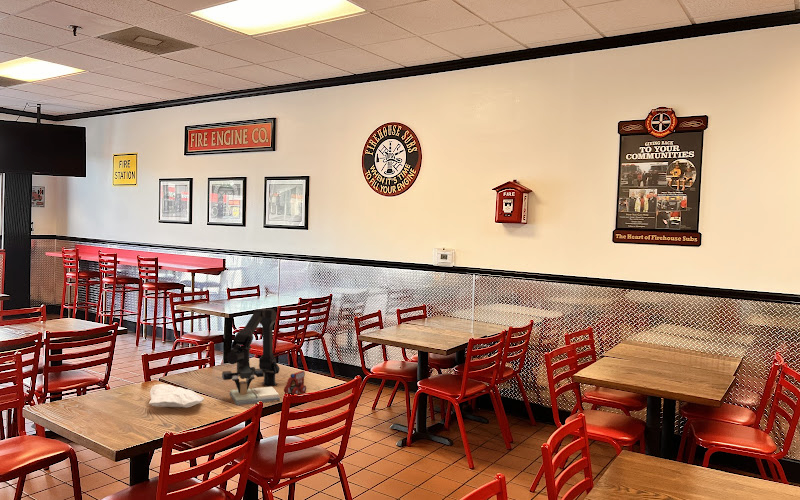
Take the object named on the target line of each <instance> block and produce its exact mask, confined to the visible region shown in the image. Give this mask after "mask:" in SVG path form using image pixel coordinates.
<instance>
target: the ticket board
mask: <svg viewBox="0 0 800 500" xmlns="http://www.w3.org/2000/svg"><path fill="white" fill-rule="evenodd" d="M251 391H252V392H253V393H254V395H255V396H256V399H248V400H238V401H236V400H235V398H234V397H233V395H232V394H231V391H229V396H230V397H231V398H232V401H233V402H234V403H235V405H236V406H243V405H252V404H258V403H257V402H259V401H262V402H263V403H262V404H264V402H265V403H270V402H269V401H274V400H280V401H281V398H280V394H279V392H278V391H276V389H275V388H274V387H273V386H264V387H262V386H261V387H253V388H251Z"/></svg>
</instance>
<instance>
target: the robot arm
mask: <svg viewBox="0 0 800 500" xmlns="http://www.w3.org/2000/svg"><path fill="white" fill-rule="evenodd" d="M276 317H277V312H276V311H275V309H273V308H261V309H259V308H258V309H254V310H253V312H252V315H251V317H250V319H249V320H248V321H247V323H246V325H245V326H244V327H243V328H242V329H240V330H239V331H238V332H237V333H236V334H235V336H234V337H233V340H232V343H231V347H230V351H229V352H228V353H227V354H226V361H227V363H229V364H230V365H235V364H236V372H232V370H226V371H222V372H221V378H222V379H223V380H224V381H228V380H230V381H232V382H234V384H235V386H236V390H238V392H239V393H240V386H239V382H240V379H241V380H244V379H245V382H246V383H247V390H248V389H249V388H250V384H251V383H252V381H253V380H255V379H256V378H262V377H263V381H262V382H261V384H262V385H263V386H264V387H271V386H270V385H273V386H277V385H278V384H277V382H276V374H279V373H280V368H281V367H280V366H279V365H278V362H277V357H276V356H275V355H274V353H273V352H274V351H273V350H274V349H273V347H274V346H273V339H274V338H273V325H274V324H275V322H276V319H277V318H276ZM259 324H260V325H261V326H262V356H261V357H259V359H258V362H259V363H258V368H256V366H250V365H251V364H250V350H251V349H252V346H251V344H252V343H253V341H254V332H255V331H256V330H257V328H258V326H259ZM255 376H256V377H255Z"/></svg>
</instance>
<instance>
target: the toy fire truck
mask: <svg viewBox="0 0 800 500" xmlns="http://www.w3.org/2000/svg"><path fill="white" fill-rule="evenodd" d="M305 373H306V371H304V370H301V371H298V372H295V373H291V374H290V375H289V377H288V379H287V382H286V385H285V386H284V387H283V393H284V392H285V394H286V393H289V394H292V395H293V394H298V395H299V394H304V393H306V392H307V386H306V385H305V376H306V375H305Z"/></svg>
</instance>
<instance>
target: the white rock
mask: <svg viewBox="0 0 800 500" xmlns="http://www.w3.org/2000/svg"><path fill="white" fill-rule="evenodd" d="M149 396H150V401H149V402H148V404H149V406H152V407H156V408H158V407H159V408H160V407H161V408H167V407H169V408H191V407H192V406H196V405H198V404H202V402H203V401H204V400H205V398H204V397H203V396H202V395H199V394H197V393H196V392H195V391H194V390H191V389H186V388H183V387H179V386H177V387H175V386H173V385H172V384H164V383H159V384H155V385H153V386H151V389H150V391H149Z"/></svg>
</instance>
